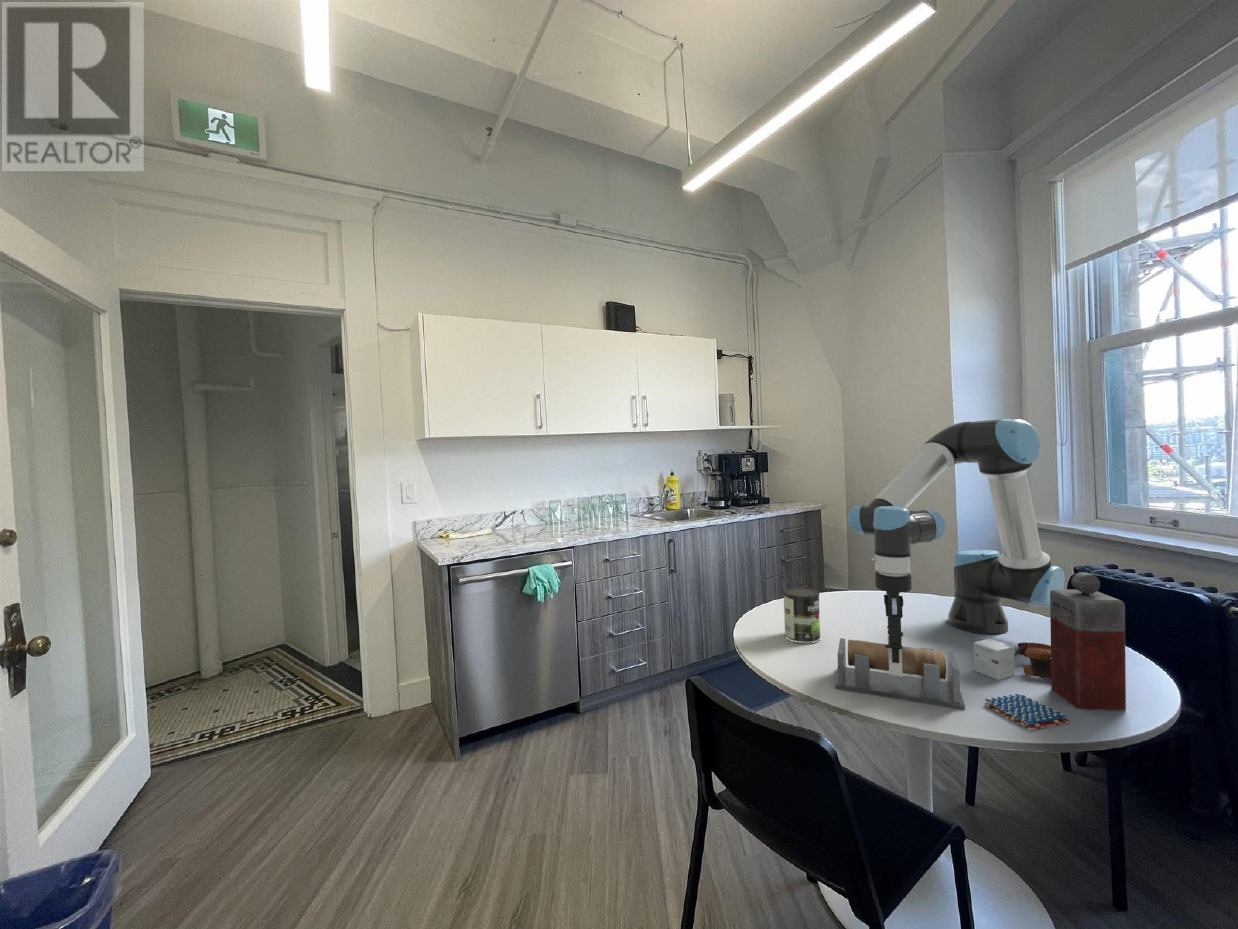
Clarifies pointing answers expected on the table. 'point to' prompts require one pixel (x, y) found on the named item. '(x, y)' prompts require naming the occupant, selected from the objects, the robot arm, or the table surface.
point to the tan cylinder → (910, 657)
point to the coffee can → (801, 614)
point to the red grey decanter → (1088, 645)
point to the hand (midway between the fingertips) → (895, 668)
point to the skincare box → (994, 659)
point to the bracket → (901, 681)
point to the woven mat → (1026, 711)
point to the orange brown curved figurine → (1036, 659)
